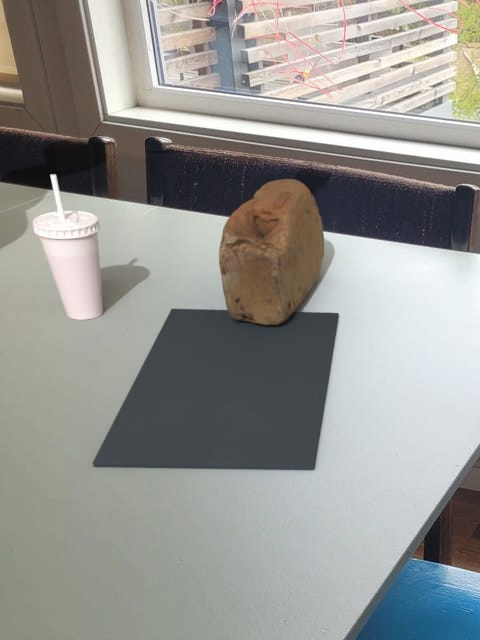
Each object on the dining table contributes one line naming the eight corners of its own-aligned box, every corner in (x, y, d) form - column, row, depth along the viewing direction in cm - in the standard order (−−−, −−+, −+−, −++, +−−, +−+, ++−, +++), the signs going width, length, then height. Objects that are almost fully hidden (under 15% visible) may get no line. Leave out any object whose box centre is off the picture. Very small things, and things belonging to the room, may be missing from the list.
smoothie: (42, 321, 104) (8, 179, 96) (70, 299, 109) (40, 162, 101) (100, 327, 104) (72, 184, 95) (126, 305, 109) (101, 168, 100)
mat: (93, 466, 82) (92, 462, 81) (172, 312, 108) (171, 308, 108) (314, 470, 83) (313, 465, 83) (338, 316, 109) (338, 312, 109)
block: (328, 272, 120) (290, 334, 104) (266, 268, 120) (219, 329, 104) (322, 175, 113) (280, 226, 97) (257, 172, 113) (205, 221, 98)
